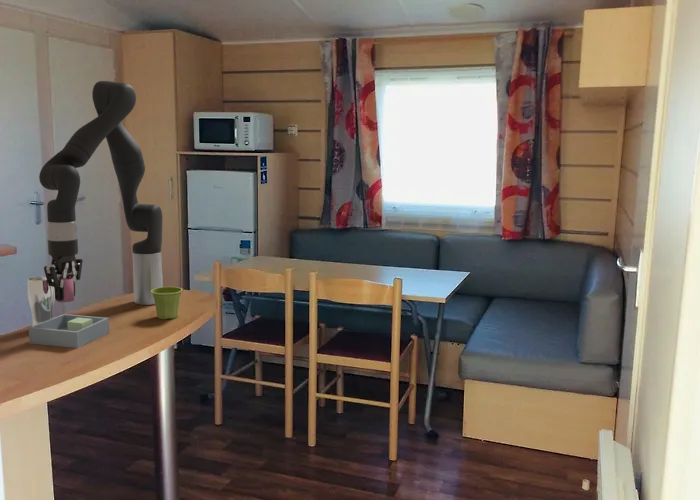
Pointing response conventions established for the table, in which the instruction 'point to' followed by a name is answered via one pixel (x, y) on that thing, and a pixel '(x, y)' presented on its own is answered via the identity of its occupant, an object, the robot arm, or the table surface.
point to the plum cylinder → (68, 290)
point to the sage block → (79, 323)
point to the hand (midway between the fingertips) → (65, 298)
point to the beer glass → (40, 299)
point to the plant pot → (167, 301)
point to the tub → (59, 335)
